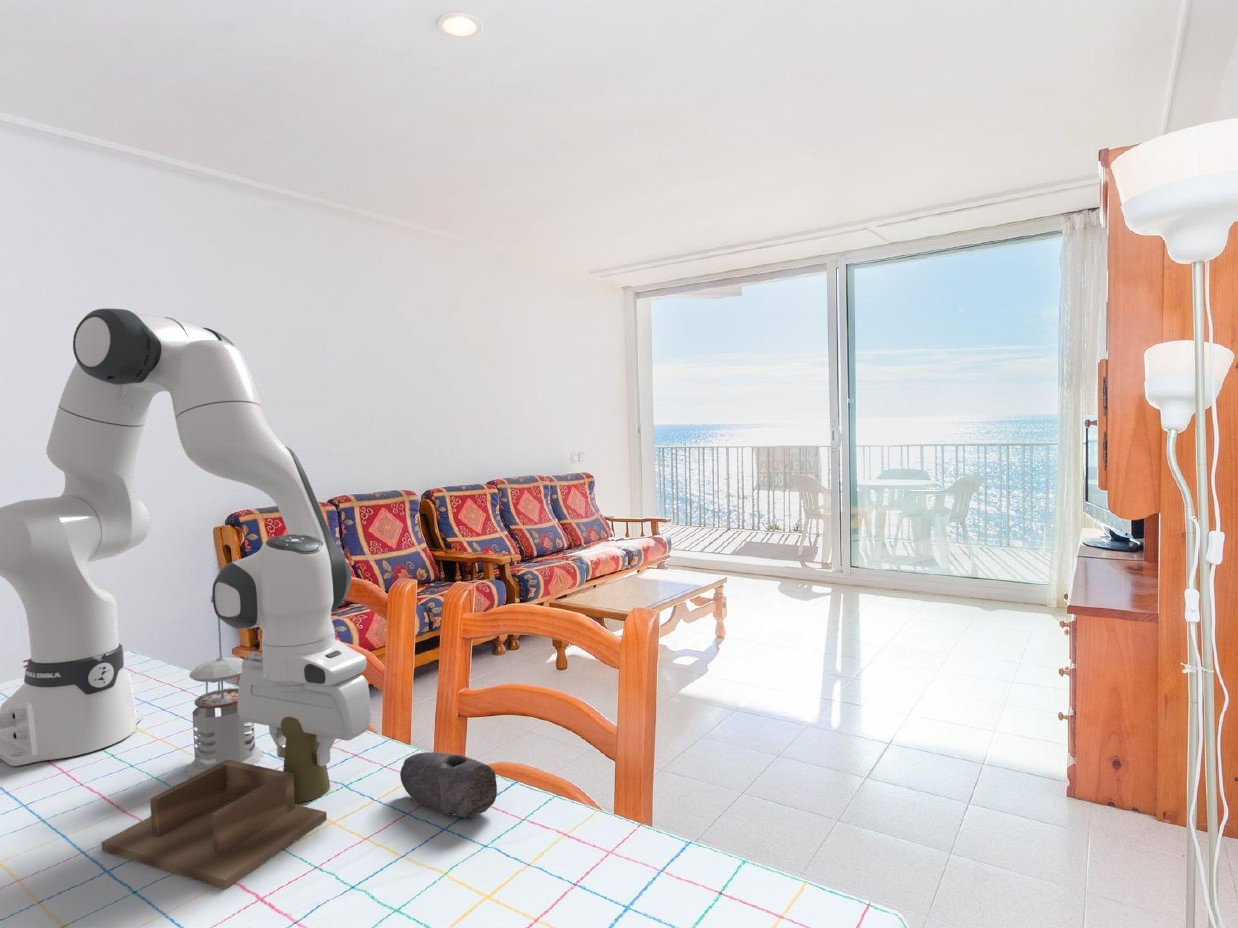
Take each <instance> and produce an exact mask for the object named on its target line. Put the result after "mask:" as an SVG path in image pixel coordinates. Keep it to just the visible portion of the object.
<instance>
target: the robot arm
mask: <svg viewBox="0 0 1238 928" xmlns="http://www.w3.org/2000/svg"><path fill="white" fill-rule="evenodd" d="M72 348H73V349H72V350H73V355H74V357H75V360H76V362H75V364H74V365H73V366H74V367H73V368H72V370H71V372H70V374H69V376H68V379H67V382H66V383H65V386H64V389H63V391H62V393H61V397H60V399H59V403H58V407H57V410H56V414H55V416H54V420H53V423H52V427H51V430H50V435H49V437H48V442H47V445H46V455H47V458H48V459H49V461H50V463H52V464H53V466H54V467H56V468H57V469H59V470H60V471H62V472H63V474H64V480H65V481H64V489H63V491H62V494H61V495H60V496H55V497H46V498H35V499H27V500H26V499H25V500H21V501H17V502H14V503H11V504H7V505H4V506H1V507H0V577H1V578H3V579H5V581H7V582H8V583H9V584H10V585H11V586H12V588H13V589H14V591H15V592H16V594H17V595H18V597H19V598H20V600H21V602H22V605H23V608H24V610H25V614H26V619H27V628H28V637H29V646H30V647H29V648H30V658H29V659H24V660H23V661H22V663H27V664H26V665H23V667H22V668H23V669H24V668H25V669H24V679H23V682H24V683H23V684H22V685H21V686H20V687H19V688H18V689H17V690H16V691H15V692H14V693H13V694H12V695H11V696H9V697H8V699H6V700H5V701H4V702H3V703H2V704H1V705H0V760H2V761H3V762H5V763H7V765H9V766H10V767H11V766H12V767H18V766H24V765H27V764H32V763H38V762H42V761H48V760H49V761H50V760H59V759H64V758H70V757H76V756H79V755H80V756H81V755H83V754H88V753H91V752H95V751H98V750H101V749H104V748H106V747H109V746H111V745H114V744H117V743H118V742H120V741H123V740H124V739H126V738H128V737H129V736H131V735H132V734H133V733H134V732H135V731H136V729H137V724H138V722H140V721H141V720H142V719H143V718H144V716H143V712H142V711H140V710H137V709H136V704H135V698H134V691H133V685H132V680H131V678H132V677H131V675H130V674H129V673H128V672H127V671H125V670H123V667H124V665H125V664H124V663H125V661H124V658H125V655H124V653H125V652H124V651H123V650H124V649H123V645H122V644H121V643H120V640H119V639H120V637H119V635H120V634H119V620H118V604H117V600H116V598H115V597H114V595H113V594H111V593H110V592H108V591H107V590H105V589H103V588H99V587H97V586H96V584H95V583H94V582H93V581H92V578H91V576H90V572H89V570H88V566H87V564H88V563H91V562H95V561H99V560H106V559H108V558H109V559H110V558H114V557H116V556H119V555H121V554H123V553H126V552H127V551H129V550H131V549H133V548H135V547H137V546H139V545H140V544H142V542H144V540H145V539H146V538H147V536H148V534H149V531H150V526H151V521H150V520H151V519H150V515H149V512H148V509H147V508H146V506H145V504H144V503H143V502H142V501H141V500H140V499H138V497H137V494H136V492H135V487H134V484H135V483H134V468H135V467H134V466H135V462H136V458H137V454H138V451H139V446H140V443H141V439H142V436H143V432H144V430H145V429H144V428H145V425H146V421H147V417H148V414H149V410H150V406H151V403H152V400H153V398H154V397H155V396H156V395H157V394H158V393H160V392H168V394H170V398H171V402H172V403H171V404H172V409H173V413H174V419H175V423H176V424H175V425H176V428H177V434H178V438H179V441H180V443H181V447H182V448H183V450H184V453H185V454H186V456H187V458H188V459H189V460H190V461H191V462H192V463H193V464H194V465H196V466H197V467H198V468H200V469H201V470H203V471H205V472H207V473H209V474H211V475H214V476H216V477H218V478H219V477H220V478H222V479H225V480H230V481H235V482H238V483H240V484H241V483H242V484H245V485H248V486H250V487H253V488H255V489H257V490H260V491H261V492H263V493H265V494H267V496H268V497H270V498H271V499H272V501H273V502H274V504H275V505H276V506H277V508H278V511H279V513H280V516H281V518H282V520H283V523H284V526H285V528H286V530H287V533H288V534H282V535H277V536H274V537H270V538H269V539H267V540H265V541H264V542H263V543H262V545H261V547H260V549H259V550H258V551H256V552H255V553H252V554H251V555H249V556H246V557H243V558H241V559H240V558H239V559H237V560H235V561H231V562H227V564H226V565H224V566H223V567H222V568H221V570H220V571H219V572H218V574H217V576H216V578H215V579H214V582H213V584H212V595H211V597H212V596H213V603H212V605H213V609H214V612H215V614H216V616H217V618H218V617H219V618H220V621H222V622H224V623H225V624H226V625H228V626H230V627H232V628H234V629H237V630H238V629H239V630H241V629H243V630H245V629H253V628H254V629H255V628H257V627H258V628H260V629H261V630H262V638H261V653H260V652H259V651H252V652H250V653H249V654H248V655H246V656H245V657H244V659H243V661H242V673H241V675H240V676H239V679H238V680H239V681H238V687H237V688H238V703H237V710H238V714H239V716H240V718H241V719H242V720H243V721H247V722H249V723H251V722H252V723H254V724H257V725H262V726H268V728H269V729H268V731H269V735H270V736H271V738H272V740H273V742H274V744H275V746H276V752H277V753H276V756H277V757H278V758H280V759H284V756H285V745H286V738H285V737H284V736H283V734H282V731H281V721H282V720H283V718H285V717H293V718H295V719H297V720H298V721H299V722H300V724H301V727H302V729H303V732H305V733H310V734H315V735H317V742H320V745H319V747H318V750H316V751H314V752H312V759H313V760H312V764H314V765H318V766H324V765H326V766H327V765H328V764H329V763H330V761H331V749H332V747H333V745H334V743H335V741H336V740H337V739H338V740H343V741H352V740H354V739H355V738H357V737H359V736H361V735H362V734H364V733H365V732H366V731H367V730H368V728H369V726H370V725H371V721H372V720H371V719H372V718H371V717H372V716H371V715H372V713H371V699H370V688H369V684H368V681H367V679H366V677H365V676H364V675H363V674H361V673H362V672H364V671H365V670H366V669H367V664H368V663H367V657H366V656H365V655H363V654H362V653H361V652H358V651H357V650H355V649H353V648H351V647H349V646H347V645H346V644H344V643H343V642H341V640H339V639H337V638H336V635H335V633H336V632H335V626H334V624H333V621H332V613H333V612H334V611H336V610H337V609H338V608H339V607H340V606H341V604H342V603H343V602H344V600H345V598H346V596H347V595H348V592H349V591H350V588H351V585H352V584H351V583H352V572H351V569H350V566H349V563H348V562H347V560H346V558H345V557H344V556H345V555H343V553H342V551H341V549H339V547H338V545H337V543H336V542H335V540H334V537H333V536H332V533H331V531H330V528H329V526H328V524H327V522H326V520H325V516H324V514H323V512H322V509H321V507H320V504H319V503H318V500H317V497H316V496H315V493H314V490H313V488H312V486H311V483H310V481H309V479H308V476H307V474H306V471H305V470H304V467H303V465H302V464H301V461H300V460H299V458H298V456H297V455H296V453H295V452H294V451H293V450H292V449H291V448H290V447H287V446H286V445H284V444H283V443H282V442H281V441H280V439H279V438H278V437H277V436H276V434H275V433H274V431H273V430H272V428H271V427H270V425H269V423H268V421H267V418H266V417H265V414H264V410H263V406H262V402H261V399H260V395H259V392H258V389H257V386H256V383H255V381H254V377H253V375H252V373H251V370H250V368H249V366H248V364H247V361H246V360H245V357H244V355H243V353H242V352H241V351H240V350H239V349H238V348H237V347H235V344H234V343H233V342H232V341H231V340H230V339H229V338H228V337H226V336H225V335H223V334H222V333H219V332H218V331H216V330H214V329H211V328H208V327H200V326H198V325H196V324H192V323H190V322H188V321H187V322H186V321H184V320H183V321H182V320H179V319H176V318H172V317H168V316H164V317H162V316H157V315H153V314H152V315H151V314H146V313H138V312H132V311H131V310H128V309H123V308H98V309H95V310H92V311H91V312H89V313H87V314H86V315H85V316H84V317H83V318H82V320H81V321H80V322H79V323H78V324H77V327H76V329H75V331H74V334H73V338H72ZM252 723H251V724H252Z"/></svg>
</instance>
